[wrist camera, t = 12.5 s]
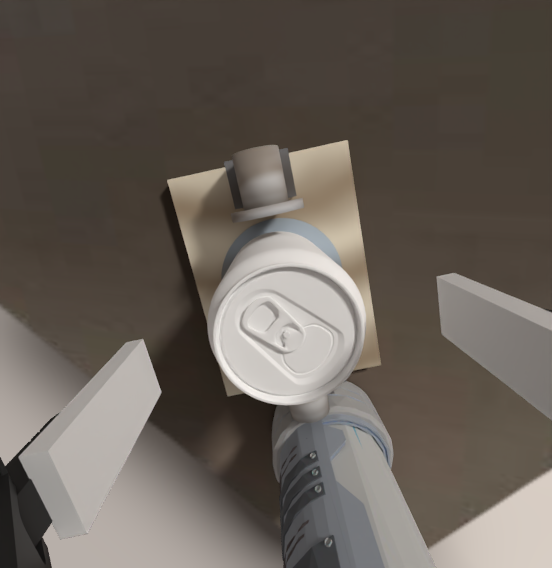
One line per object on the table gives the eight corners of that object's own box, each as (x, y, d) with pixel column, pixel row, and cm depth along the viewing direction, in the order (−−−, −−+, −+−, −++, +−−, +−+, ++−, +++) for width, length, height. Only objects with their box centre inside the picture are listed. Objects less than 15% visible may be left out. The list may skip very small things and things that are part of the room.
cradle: (171, 181, 26) (132, 172, 19) (344, 142, 26) (376, 117, 18) (229, 389, 31) (216, 450, 23) (376, 358, 31) (413, 410, 23)
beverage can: (285, 344, 28) (299, 442, 17) (209, 287, 27) (167, 351, 15) (348, 272, 27) (410, 325, 15) (271, 209, 26) (276, 214, 14)
